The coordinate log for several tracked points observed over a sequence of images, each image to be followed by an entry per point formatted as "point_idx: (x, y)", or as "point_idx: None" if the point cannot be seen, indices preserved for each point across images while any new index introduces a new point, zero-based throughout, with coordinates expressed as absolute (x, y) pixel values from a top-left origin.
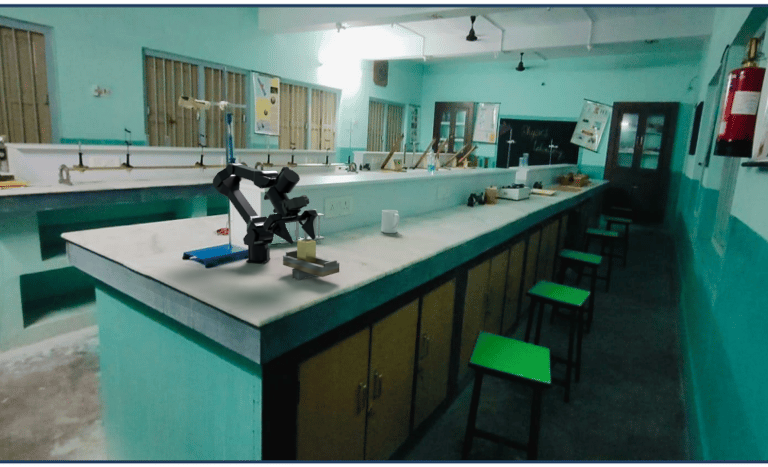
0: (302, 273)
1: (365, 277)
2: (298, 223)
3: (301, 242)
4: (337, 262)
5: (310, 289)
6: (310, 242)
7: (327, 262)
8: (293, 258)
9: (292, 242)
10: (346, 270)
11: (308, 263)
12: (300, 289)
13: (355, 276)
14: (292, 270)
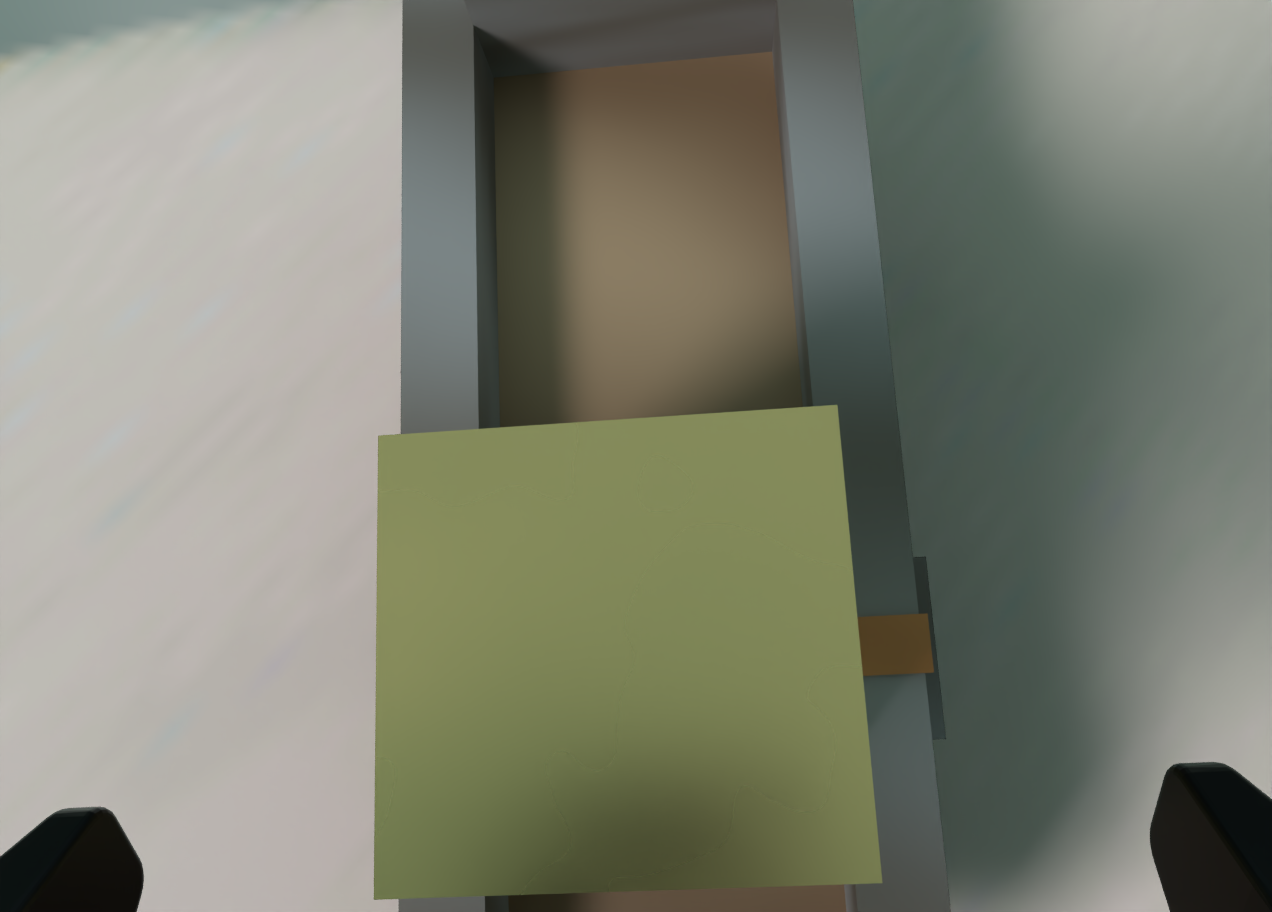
0: None
1: (105, 94)
2: None
3: (853, 640)
4: (409, 38)
5: (1002, 157)
6: (626, 422)
7: None
8: (907, 828)
9: (1204, 768)
10: (20, 491)
11: (884, 301)
12: (1114, 235)
13: (161, 203)
14: (940, 729)
